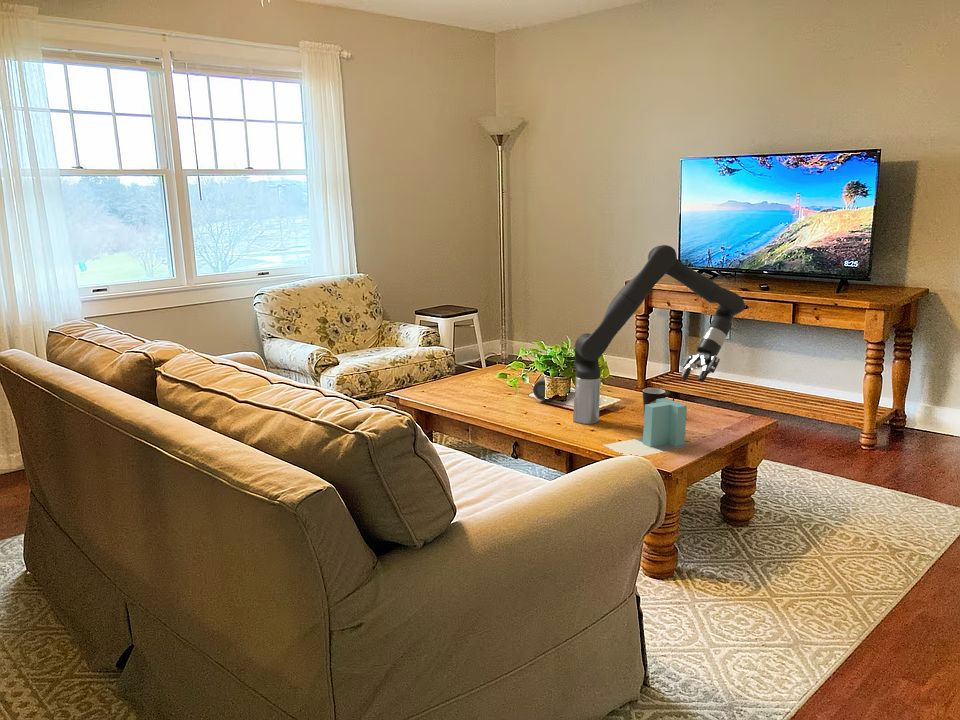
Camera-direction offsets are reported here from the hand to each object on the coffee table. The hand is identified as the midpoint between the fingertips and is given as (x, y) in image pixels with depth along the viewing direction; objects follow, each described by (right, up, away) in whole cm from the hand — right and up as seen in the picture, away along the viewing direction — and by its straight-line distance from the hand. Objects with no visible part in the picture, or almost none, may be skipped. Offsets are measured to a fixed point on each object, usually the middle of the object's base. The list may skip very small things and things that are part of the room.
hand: (691, 380), depth 284 cm
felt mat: (-19, -23, -14) cm, 33 cm away
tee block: (-14, -21, -12) cm, 28 cm away
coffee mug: (-8, -15, +22) cm, 28 cm away
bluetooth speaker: (-46, -8, +50) cm, 68 cm away
